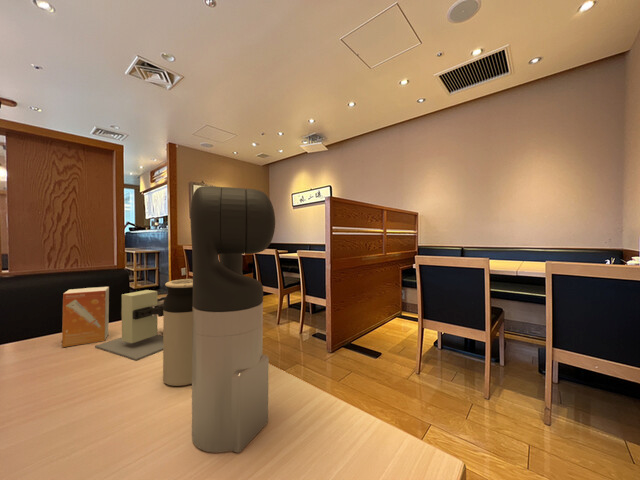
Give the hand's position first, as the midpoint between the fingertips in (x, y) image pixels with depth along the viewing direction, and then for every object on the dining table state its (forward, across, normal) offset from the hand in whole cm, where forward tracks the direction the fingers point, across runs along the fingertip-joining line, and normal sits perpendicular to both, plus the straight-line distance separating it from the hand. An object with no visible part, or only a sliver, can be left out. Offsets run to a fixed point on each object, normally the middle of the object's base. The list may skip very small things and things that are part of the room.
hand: (127, 313), depth 61 cm
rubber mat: (-3, 0, +8) cm, 9 cm away
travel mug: (+2, +23, +8) cm, 25 cm away
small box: (+1, -15, +8) cm, 17 cm away
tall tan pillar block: (-3, 0, +6) cm, 7 cm away
